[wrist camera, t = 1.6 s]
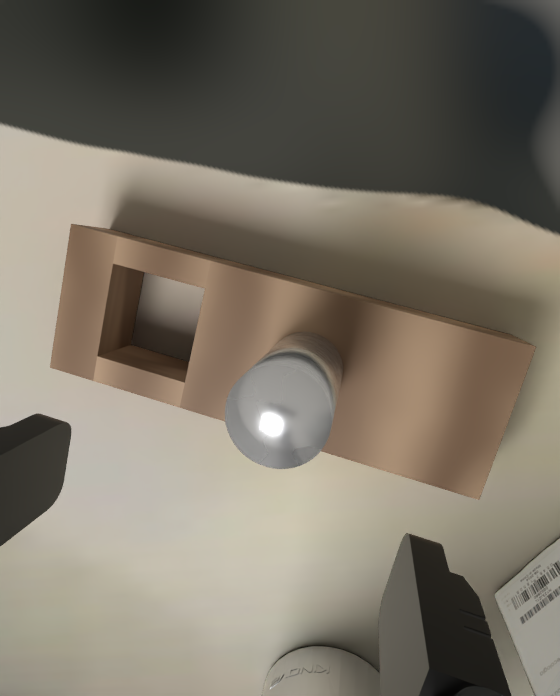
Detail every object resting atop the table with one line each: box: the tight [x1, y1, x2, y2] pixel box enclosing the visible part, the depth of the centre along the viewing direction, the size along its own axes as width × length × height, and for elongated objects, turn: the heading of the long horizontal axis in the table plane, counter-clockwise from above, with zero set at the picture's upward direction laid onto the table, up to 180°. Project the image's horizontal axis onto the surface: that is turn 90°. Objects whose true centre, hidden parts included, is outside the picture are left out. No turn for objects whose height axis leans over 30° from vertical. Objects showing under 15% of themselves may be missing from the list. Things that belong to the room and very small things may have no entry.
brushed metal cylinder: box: [225, 332, 343, 469], centre depth 21 cm, size 4×4×8 cm
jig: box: [50, 224, 536, 500], centre depth 28 cm, size 25×8×4 cm, turn 76°
